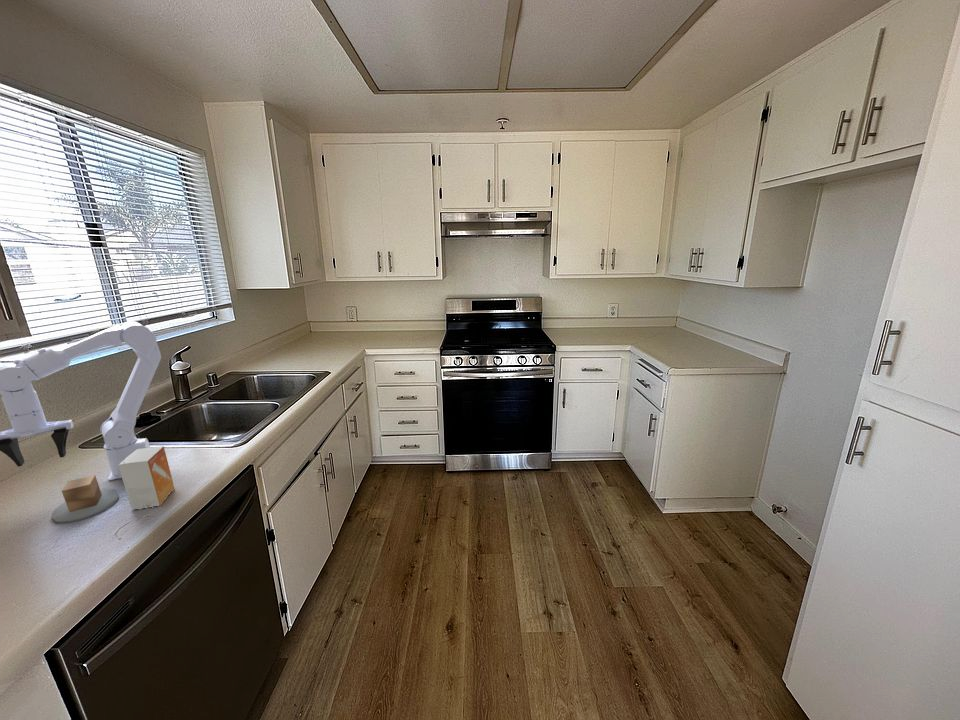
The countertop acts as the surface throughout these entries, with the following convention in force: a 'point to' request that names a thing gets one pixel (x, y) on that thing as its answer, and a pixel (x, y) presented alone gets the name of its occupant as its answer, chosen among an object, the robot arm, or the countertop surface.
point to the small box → (146, 477)
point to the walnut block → (81, 493)
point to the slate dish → (106, 501)
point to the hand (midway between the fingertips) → (42, 460)
